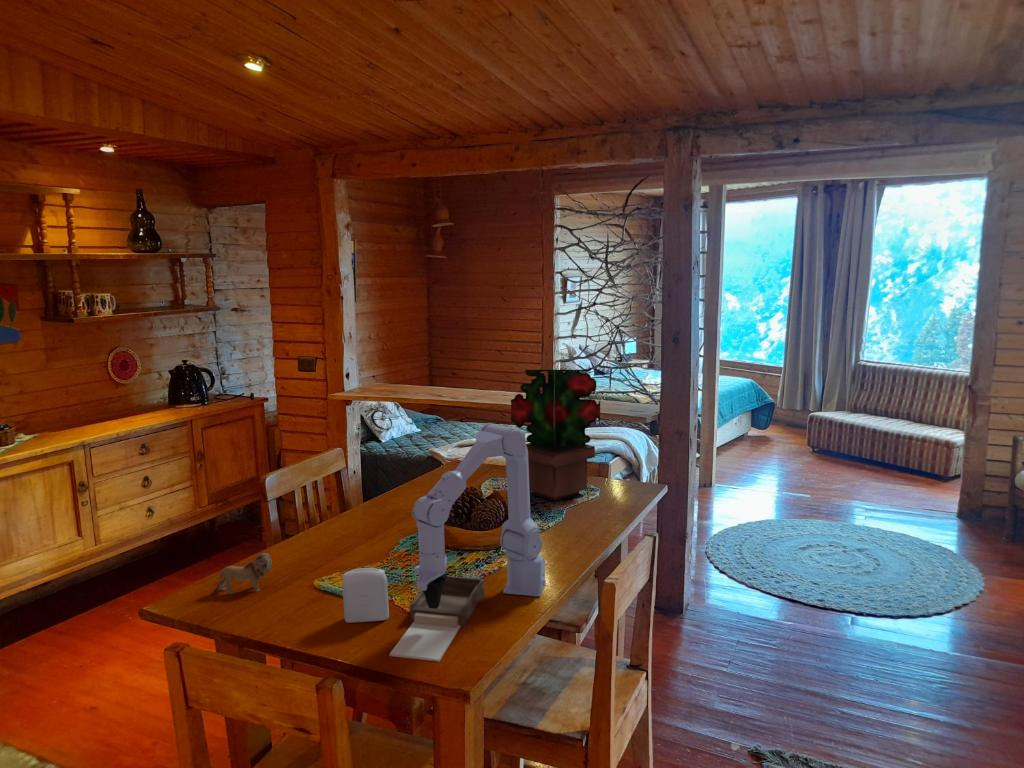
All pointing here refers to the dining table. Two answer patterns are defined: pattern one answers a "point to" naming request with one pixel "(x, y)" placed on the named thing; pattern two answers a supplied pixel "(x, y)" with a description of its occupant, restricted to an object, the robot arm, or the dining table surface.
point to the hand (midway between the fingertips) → (433, 607)
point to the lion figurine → (246, 573)
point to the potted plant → (557, 430)
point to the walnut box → (453, 599)
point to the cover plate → (427, 637)
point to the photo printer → (365, 595)
